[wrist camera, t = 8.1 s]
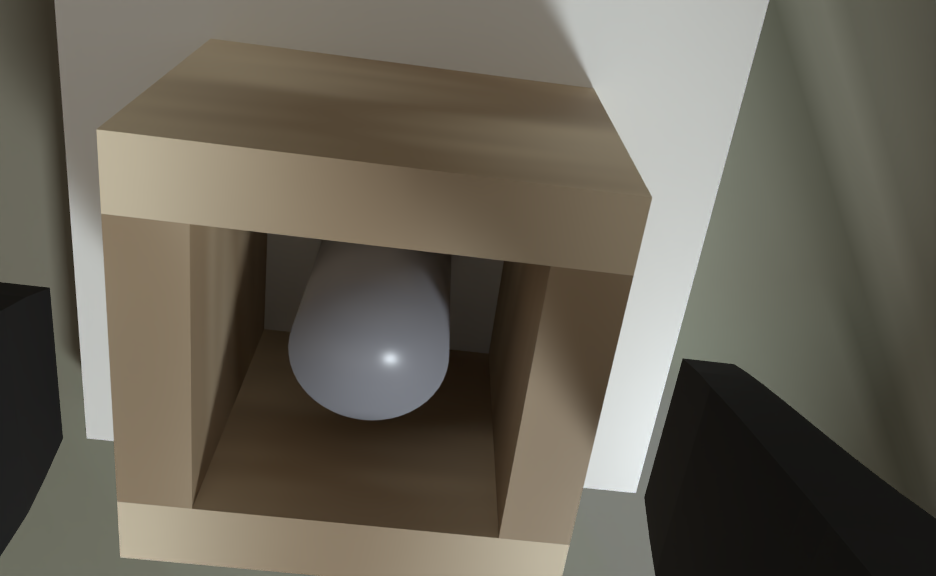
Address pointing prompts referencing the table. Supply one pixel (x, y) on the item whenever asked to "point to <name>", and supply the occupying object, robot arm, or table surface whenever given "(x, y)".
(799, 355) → the table surface
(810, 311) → the table surface
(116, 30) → the pin block
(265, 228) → the collar
